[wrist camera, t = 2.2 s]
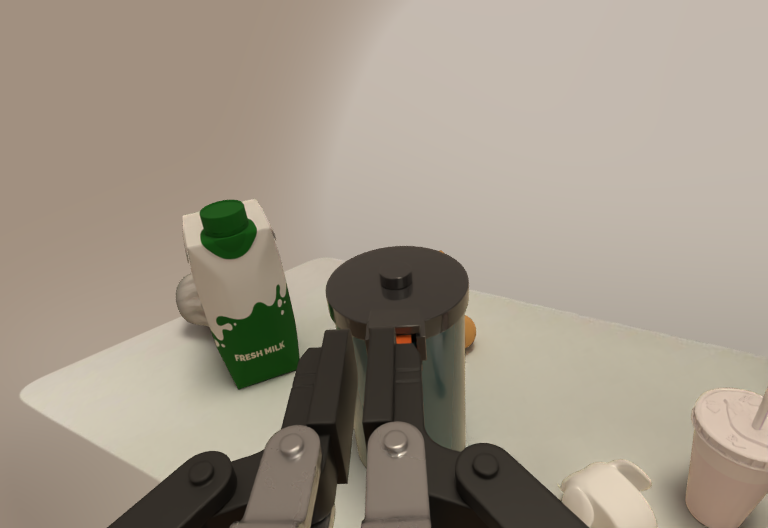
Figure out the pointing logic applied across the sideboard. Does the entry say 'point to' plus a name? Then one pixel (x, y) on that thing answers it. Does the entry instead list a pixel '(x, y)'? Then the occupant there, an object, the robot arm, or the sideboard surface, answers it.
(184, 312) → the cupcake
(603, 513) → the elephant figurine
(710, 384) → the sideboard surface
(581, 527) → the robot arm
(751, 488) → the smoothie
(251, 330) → the milk carton
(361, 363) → the jug
